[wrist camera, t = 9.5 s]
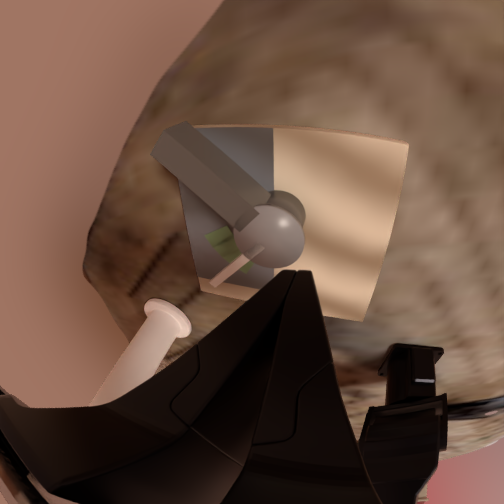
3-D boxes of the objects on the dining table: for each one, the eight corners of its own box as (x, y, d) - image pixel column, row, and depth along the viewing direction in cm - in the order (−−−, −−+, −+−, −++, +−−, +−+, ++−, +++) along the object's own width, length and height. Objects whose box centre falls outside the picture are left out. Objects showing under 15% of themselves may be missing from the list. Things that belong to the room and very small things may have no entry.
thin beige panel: (362, 313, 24) (362, 322, 23) (205, 284, 28) (200, 291, 27) (405, 141, 14) (409, 145, 13) (178, 126, 19) (170, 130, 18)
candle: (196, 339, 36) (112, 494, 17) (155, 325, 38) (70, 462, 19) (185, 305, 32) (78, 486, 13) (140, 292, 34) (34, 445, 15)
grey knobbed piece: (324, 217, 18) (319, 245, 16) (247, 275, 24) (233, 302, 21) (200, 105, 16) (172, 114, 13) (148, 189, 21) (123, 208, 19)
